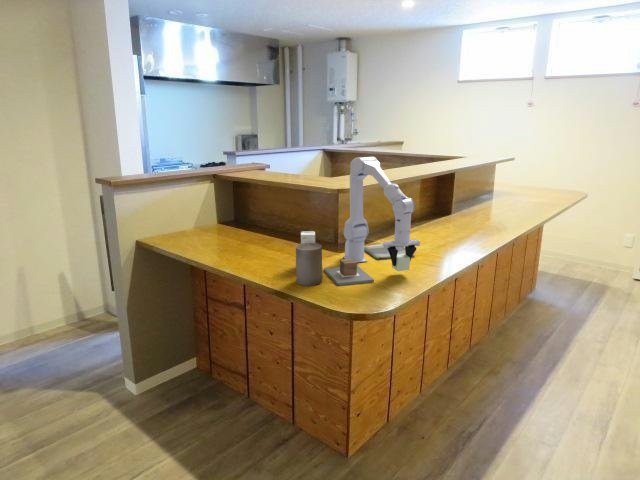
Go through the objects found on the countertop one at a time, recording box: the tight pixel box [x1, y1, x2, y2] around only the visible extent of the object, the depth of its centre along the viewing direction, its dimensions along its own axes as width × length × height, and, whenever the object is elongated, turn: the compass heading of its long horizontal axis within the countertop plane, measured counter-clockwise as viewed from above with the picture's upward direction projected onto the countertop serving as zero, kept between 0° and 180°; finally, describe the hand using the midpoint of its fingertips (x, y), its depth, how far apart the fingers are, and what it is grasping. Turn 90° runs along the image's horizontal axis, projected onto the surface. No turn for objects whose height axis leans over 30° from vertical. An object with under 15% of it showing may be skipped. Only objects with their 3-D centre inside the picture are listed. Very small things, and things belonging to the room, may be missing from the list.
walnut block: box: [339, 258, 358, 276], centre depth 172 cm, size 5×5×5 cm
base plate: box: [323, 265, 375, 286], centre depth 173 cm, size 18×14×1 cm
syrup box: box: [300, 230, 316, 244], centre depth 182 cm, size 6×6×14 cm
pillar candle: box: [295, 242, 323, 287], centre depth 165 cm, size 10×10×15 cm
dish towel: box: [364, 243, 416, 261], centre depth 203 cm, size 19×18×3 cm
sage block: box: [391, 254, 411, 272], centre depth 173 cm, size 5×5×5 cm
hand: (400, 264), depth 174 cm, fingers closed on sage block, 5 cm apart
